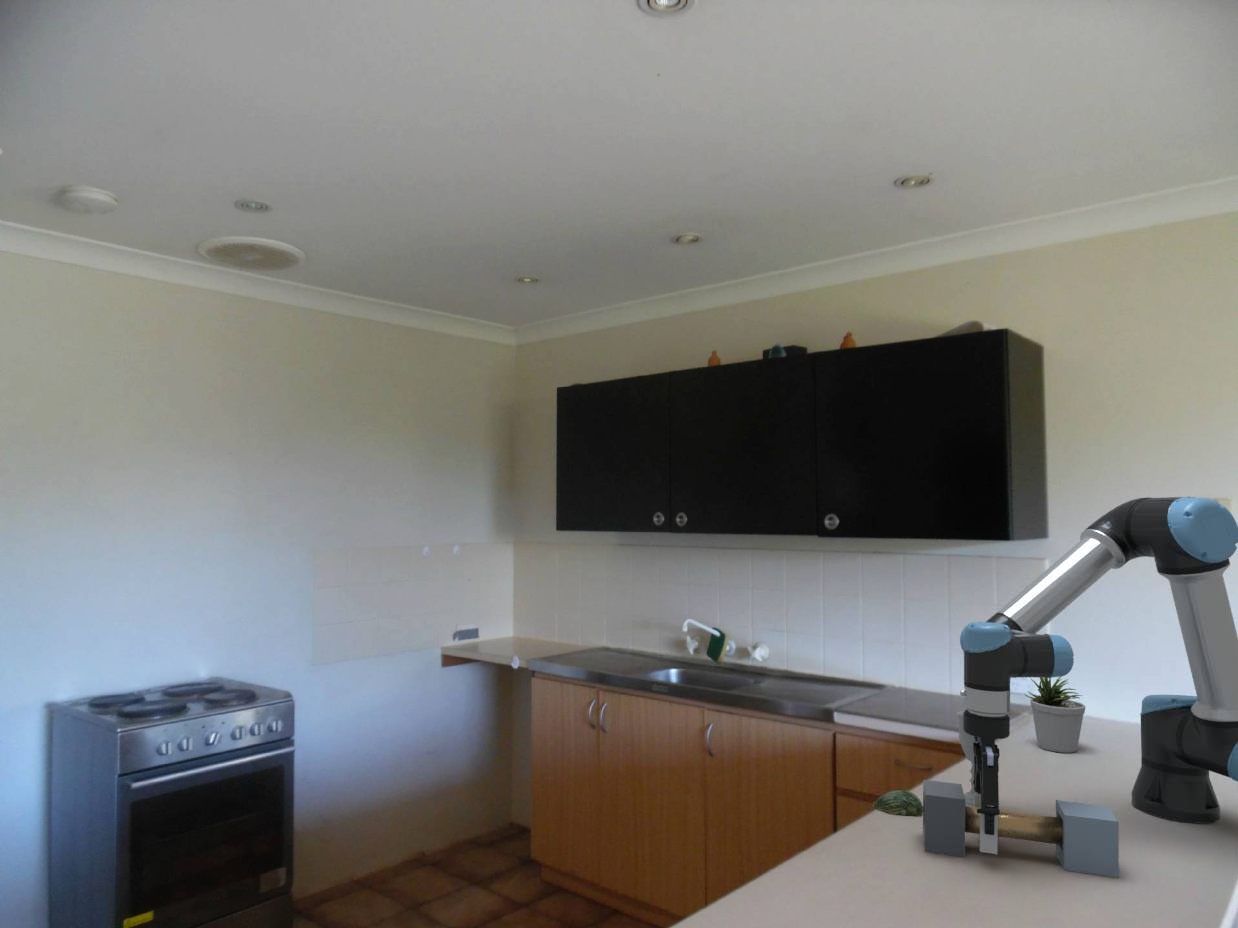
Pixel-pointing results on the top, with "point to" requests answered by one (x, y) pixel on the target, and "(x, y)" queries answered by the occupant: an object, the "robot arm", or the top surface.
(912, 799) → the seashell
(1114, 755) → the top surface
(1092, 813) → the blue-grey cube-like block
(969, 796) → the chalice
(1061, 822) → the slip tube
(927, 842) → the socket
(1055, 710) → the potted plant
